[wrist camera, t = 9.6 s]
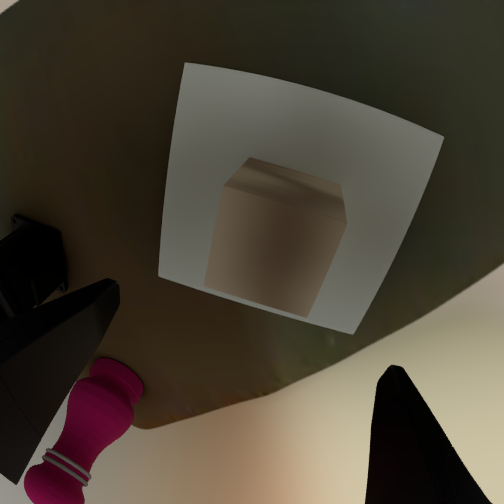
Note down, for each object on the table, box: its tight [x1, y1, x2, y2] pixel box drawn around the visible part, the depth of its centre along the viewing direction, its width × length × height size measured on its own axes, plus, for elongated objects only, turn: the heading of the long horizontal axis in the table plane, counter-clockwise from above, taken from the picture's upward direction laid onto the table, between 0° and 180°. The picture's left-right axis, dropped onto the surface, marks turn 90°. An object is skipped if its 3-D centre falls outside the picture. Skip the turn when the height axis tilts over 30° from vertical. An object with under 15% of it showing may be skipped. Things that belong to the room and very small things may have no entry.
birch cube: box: [204, 157, 347, 318], centre depth 16 cm, size 5×5×5 cm
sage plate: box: [158, 63, 444, 335], centre depth 18 cm, size 14×14×1 cm
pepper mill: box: [24, 358, 144, 504], centre depth 23 cm, size 7×7×20 cm
